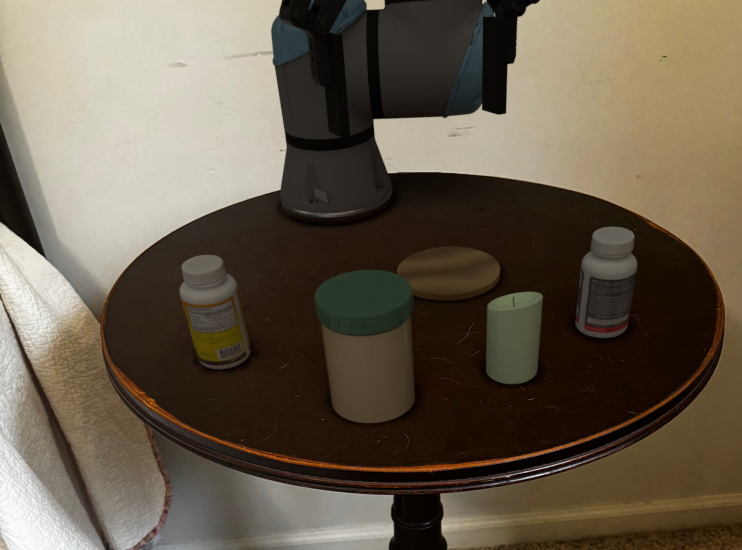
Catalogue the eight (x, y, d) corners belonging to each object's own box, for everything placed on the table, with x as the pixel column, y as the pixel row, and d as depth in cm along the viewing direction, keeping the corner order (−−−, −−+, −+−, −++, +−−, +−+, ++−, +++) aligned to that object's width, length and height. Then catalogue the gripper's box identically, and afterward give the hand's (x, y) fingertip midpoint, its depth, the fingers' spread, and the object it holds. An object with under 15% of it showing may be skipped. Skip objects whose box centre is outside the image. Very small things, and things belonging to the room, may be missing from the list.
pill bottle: (638, 328, 82) (654, 236, 76) (599, 345, 81) (612, 252, 74) (601, 308, 86) (613, 218, 79) (563, 324, 84) (572, 233, 77)
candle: (475, 369, 79) (476, 291, 73) (513, 351, 81) (517, 274, 75) (508, 391, 76) (512, 312, 70) (547, 372, 78) (554, 294, 72)
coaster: (381, 266, 95) (380, 260, 95) (471, 244, 98) (471, 238, 98) (422, 310, 87) (422, 304, 87) (518, 285, 90) (519, 278, 90)
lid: (303, 300, 71) (301, 283, 70) (391, 279, 73) (389, 261, 72) (335, 345, 66) (333, 326, 64) (429, 320, 68) (429, 301, 67)
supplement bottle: (216, 339, 85) (193, 247, 78) (261, 347, 84) (242, 254, 76) (187, 367, 82) (161, 272, 74) (234, 376, 80) (211, 280, 73)
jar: (320, 388, 78) (305, 288, 70) (395, 367, 80) (388, 268, 72) (348, 432, 72) (336, 330, 65) (429, 408, 74) (425, 306, 67)
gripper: (230, -267, 44) (283, 152, 57) (606, -258, 52) (578, 110, 64) (199, -242, 49) (254, 135, 62) (543, -238, 57) (528, 97, 70)
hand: (419, 123), depth 63 cm, fingers open, 13 cm apart
